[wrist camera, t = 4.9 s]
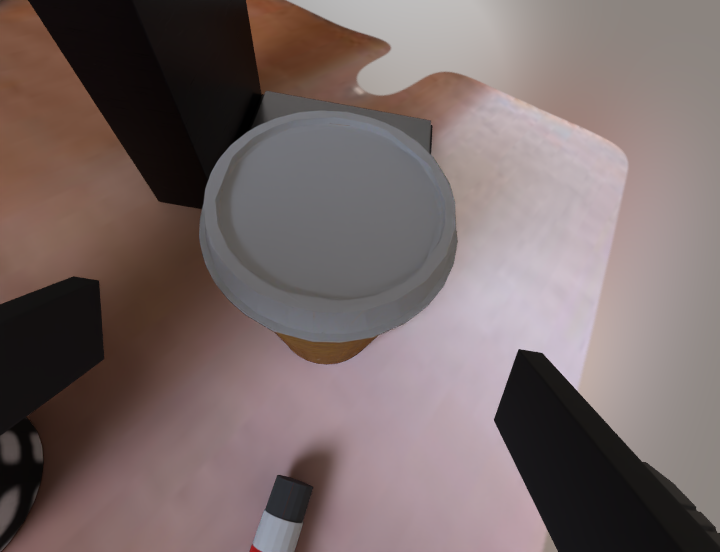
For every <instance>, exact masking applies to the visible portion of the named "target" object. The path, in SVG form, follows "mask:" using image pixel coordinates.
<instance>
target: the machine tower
mask: <svg viewBox="0 0 720 552" xmlns="http://www.w3.org/2000/svg"><path fill="white" fill-rule="evenodd" d="M28 1H29V2H30V4H31V5H32V7H33V8H34V10H35V11H36V13H37V15H38V16H39V18H40V19H41V21H42V22H43V24H44V25H45V27H46V28H47V30H48V31H49V33H50V35H51V36H52V38H53V39H54V41H55V42H56V44H57V45H58V47H59V48H60V50H61V52H62V53H63V55H64V56H65V58H66V59H67V61H68V62H69V64H70V65H71V67H72V68H73V70H74V72H75V73H76V75H77V76H78V78H79V79H80V81H81V82H82V84H83V85H84V87H85V88H86V90H87V92H88V93H89V95H90V96H91V98H92V99H93V101H94V102H95V104H96V105H97V107H98V108H99V110H100V112H101V113H102V115H103V116H104V118H105V119H106V121H107V122H108V124H109V125H110V127H111V129H112V130H113V132H114V133H115V135H116V136H117V138H118V139H119V141H120V142H121V144H122V145H123V147H124V149H125V150H126V152H127V153H128V155H129V156H130V158H131V159H132V161H133V162H134V164H135V165H136V167H137V169H138V170H139V172H140V173H141V175H142V176H143V178H144V179H145V181H146V182H147V184H148V185H149V187H150V189H151V190H152V192H153V193H154V195H155V196H156V198H157V199H158V201H159V202H164V203H170V204H176V205H182V206H188V207H194V208H200V209H202V207H203V204H204V196H205V188H206V185H207V183H208V180H209V177H210V174H211V172H212V170H213V168H214V167H215V165H216V163H217V161H218V160H219V158H220V157H221V156H222V155H223V154H224V152H225V151H226V150H227V149H228V148H229V147H230V145H232V144H233V143H234V142H235V141H237V140H238V139H239V138H240V137H242V136H243V135H244V134H245V133H246V132H247V130H248V127H249V125H250V122H251V120H252V118H253V115H254V113H255V110H256V108H257V105H258V103H259V100H260V98H261V89H260V83H259V77H258V71H257V65H256V59H255V53H254V47H253V41H252V35H251V29H250V23H249V17H248V11H247V4H246V0H28Z"/></svg>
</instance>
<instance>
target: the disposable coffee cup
mask: <svg viewBox="0 0 720 552" xmlns="http://www.w3.org/2000/svg"><path fill="white" fill-rule="evenodd" d="M199 239H200V245H201V250H202V255H203V258H204V261H205V264H206V267H207V268H208V270H209V272H210V274H211V276H212V278H213V280H214V282H215V284H216V285H217V286H218V287H219V289H220V290H221V291H222V292H223V294H224V295H225V296H226V297H227V299H228V300H229V301H230V302H231V303H233V304H234V305H235V306H236V307H237V308H238V309H239V310H240V311H241V312H243V313H244V314H245V315H247V316H248V317H250V318H252V319H253V320H255V321H257V322H258V323H260V324H262V325H264V326H265V327H267V328H269V329H270V330H272V331H274V332H275V333H276V334H277V335H278V336H279V337H280V338H281V339H282V340H283V341H284V342H285V343H286V344H287V345H288V346H289V348H290V349H291V350H292V351H293V352H295V353H296V354H297V355H298V356H300V357H302V358H304V359H305V360H307V361H311V362H314V363H318V364H335V363H340V362H343V361H346V360H348V359H350V358H352V357H353V356H355V355H357V354H358V353H359V352H360V351H361V350H363V349H364V348H365V347H366V346H367V345H368V344H369V343H370V342H371V341H373V340H374V339H375V338H376V337H377V336H378V335H380V334H382V333H384V332H386V331H389V330H391V329H393V328H396V327H398V326H400V325H402V324H404V323H406V322H407V321H409V320H410V319H411V318H413V317H414V316H415V315H417V314H418V313H419V312H421V311H422V310H423V309H424V308H425V307H426V306H428V305H429V303H430V302H431V301H432V300H433V299H434V298H435V296H436V295H437V294H438V293H439V291H440V290H441V289H442V288H443V286H444V284H445V282H446V280H447V277H448V275H449V273H450V271H451V269H452V266H453V264H454V259H455V253H456V247H457V242H458V241H457V231H456V217H455V201H454V197H453V194H452V190H451V187H450V184H449V182H448V180H447V178H446V177H445V175H444V173H443V172H442V170H441V168H440V167H439V165H438V164H437V162H436V161H435V159H434V158H433V156H432V155H431V154H429V153H428V152H427V151H426V150H425V149H424V148H423V147H422V146H421V145H420V144H419V143H418V142H417V141H415V140H414V139H412V138H411V137H410V136H408V135H407V134H405V133H404V132H402V131H401V130H399V129H397V128H395V127H393V126H391V125H389V124H387V123H385V122H382V121H379V120H376V119H373V118H371V117H367V116H362V115H358V114H354V113H350V112H341V111H321V110H320V111H308V112H298V113H294V114H290V115H286V116H282V117H279V118H275V119H273V120H270V121H268V122H266V123H263V124H261V125H258V126H257V127H255V128H253V129H252V130H250V131H248V132H247V133H245V134H244V135H243V136H242V137H240V138H239V139H238V140H237V141H235V142H234V143H233V144H232V145H230V147H229V148H228V149H227V150H226V151H225V152H224V154H223V155H222V156H221V157H220V158H219V160H218V161H217V163H216V165H215V167H214V168H213V170H212V172H211V174H210V177H209V180H208V183H207V185H206V188H205V196H204V204H203V207H202V212H201V217H200V231H199Z"/></svg>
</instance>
